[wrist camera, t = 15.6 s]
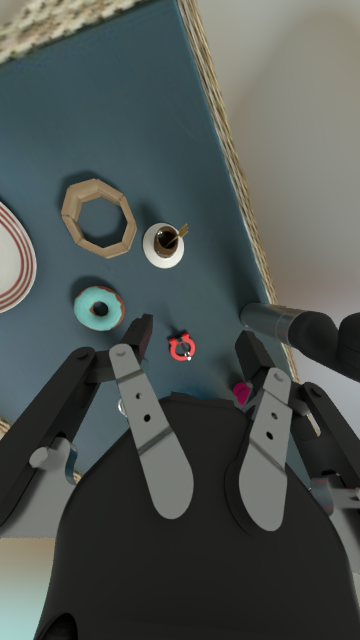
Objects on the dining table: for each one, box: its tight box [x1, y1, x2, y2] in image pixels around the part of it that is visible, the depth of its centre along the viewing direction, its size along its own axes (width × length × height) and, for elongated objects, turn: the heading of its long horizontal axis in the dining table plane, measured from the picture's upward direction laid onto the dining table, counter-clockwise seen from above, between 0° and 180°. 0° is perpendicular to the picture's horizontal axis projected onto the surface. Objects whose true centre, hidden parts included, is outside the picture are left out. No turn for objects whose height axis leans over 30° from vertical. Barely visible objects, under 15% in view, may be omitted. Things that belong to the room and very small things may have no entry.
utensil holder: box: [154, 223, 188, 258], centre depth 31 cm, size 6×6×12 cm
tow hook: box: [169, 332, 195, 360], centre depth 40 cm, size 8×13×9 cm
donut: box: [74, 286, 125, 331], centre depth 36 cm, size 12×12×4 cm
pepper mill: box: [233, 382, 251, 406], centre depth 46 cm, size 7×7×20 cm
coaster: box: [143, 223, 184, 268], centre depth 37 cm, size 11×11×1 cm
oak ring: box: [61, 178, 137, 259], centre depth 32 cm, size 14×14×3 cm
